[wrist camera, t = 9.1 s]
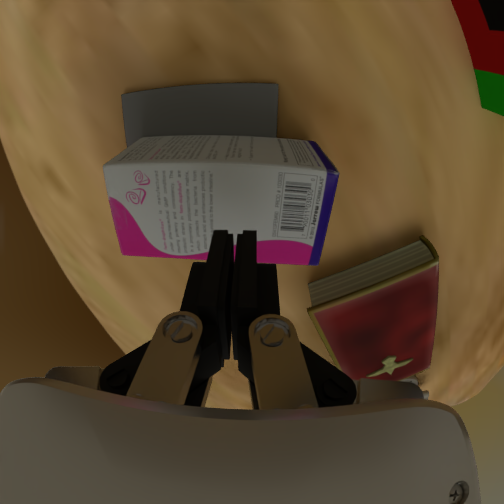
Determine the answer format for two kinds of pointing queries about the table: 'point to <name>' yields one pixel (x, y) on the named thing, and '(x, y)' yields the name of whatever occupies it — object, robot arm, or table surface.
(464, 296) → the table surface
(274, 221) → the supplement box
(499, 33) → the puzzle toy
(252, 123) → the mat
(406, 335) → the hardcover book
